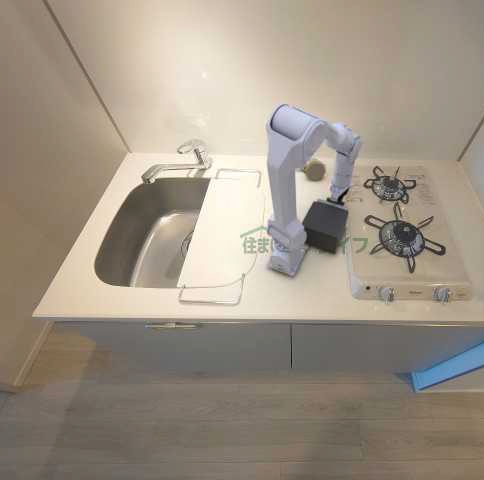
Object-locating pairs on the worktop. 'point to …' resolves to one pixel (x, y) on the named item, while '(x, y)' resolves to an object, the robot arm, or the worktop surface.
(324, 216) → the cabinet
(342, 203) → the drawer
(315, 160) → the mug
